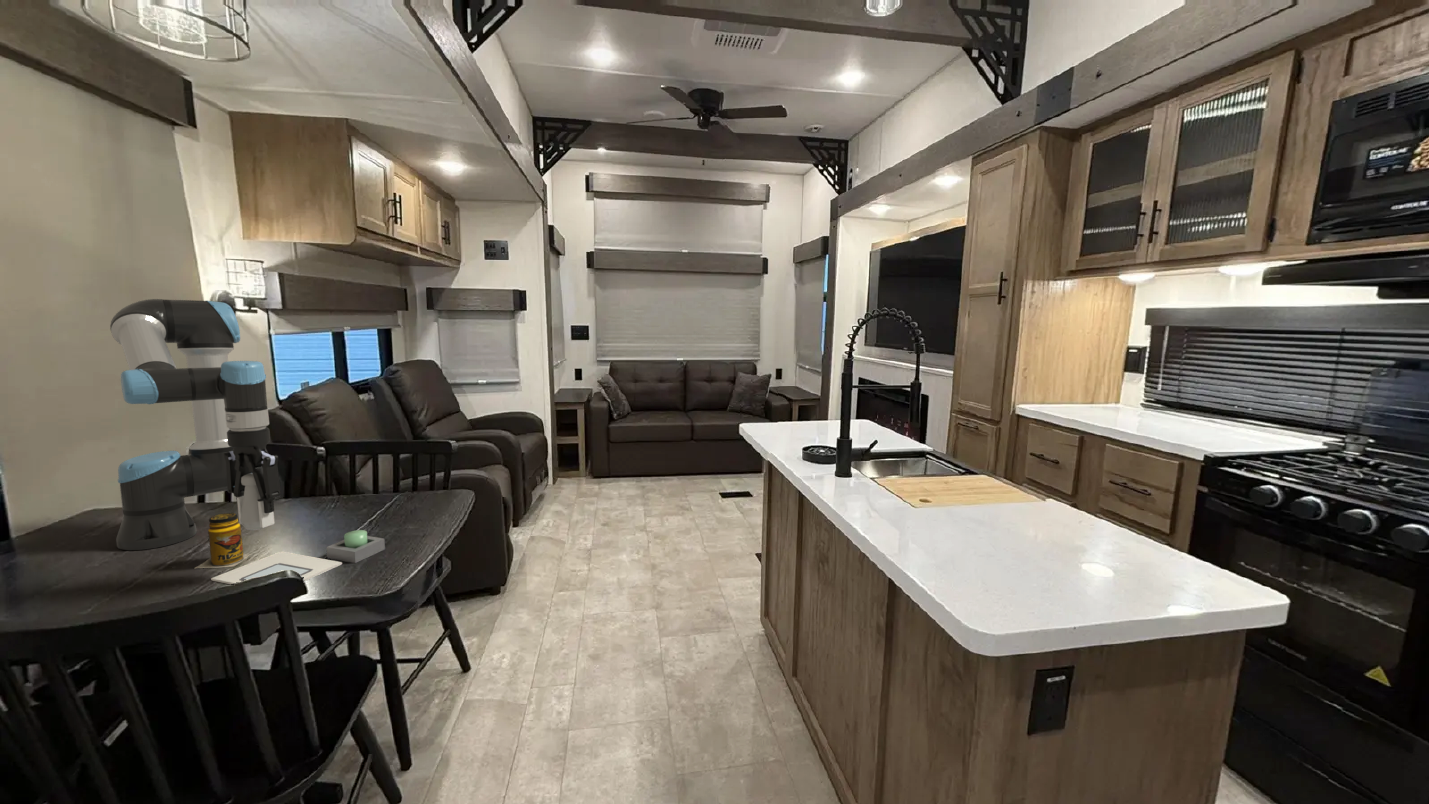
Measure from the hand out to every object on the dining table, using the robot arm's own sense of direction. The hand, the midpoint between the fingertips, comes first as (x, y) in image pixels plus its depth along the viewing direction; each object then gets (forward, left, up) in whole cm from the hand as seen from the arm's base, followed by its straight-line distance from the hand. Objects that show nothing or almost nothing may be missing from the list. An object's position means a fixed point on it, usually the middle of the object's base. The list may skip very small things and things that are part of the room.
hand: (256, 523), depth 128 cm
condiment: (-15, +2, -13) cm, 20 cm away
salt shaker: (0, 0, -1) cm, 1 cm away
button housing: (+11, +16, -13) cm, 23 cm away
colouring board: (+3, +2, -13) cm, 13 cm away
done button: (+11, +16, -11) cm, 22 cm away
